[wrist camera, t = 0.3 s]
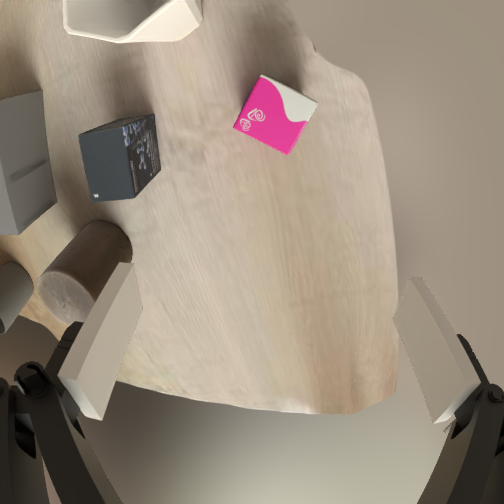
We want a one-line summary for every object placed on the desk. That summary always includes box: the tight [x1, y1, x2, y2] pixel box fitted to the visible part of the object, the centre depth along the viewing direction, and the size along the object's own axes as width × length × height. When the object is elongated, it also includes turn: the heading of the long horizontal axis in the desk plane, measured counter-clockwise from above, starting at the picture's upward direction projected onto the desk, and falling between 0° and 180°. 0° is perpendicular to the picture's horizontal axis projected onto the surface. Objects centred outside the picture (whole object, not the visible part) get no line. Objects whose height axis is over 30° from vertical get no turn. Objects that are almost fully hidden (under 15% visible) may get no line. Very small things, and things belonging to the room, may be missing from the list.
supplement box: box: [233, 74, 318, 155], centre depth 30 cm, size 6×6×12 cm
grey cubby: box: [0, 90, 57, 235], centre depth 32 cm, size 18×11×11 cm, turn 178°
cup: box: [62, 0, 203, 43], centre depth 21 cm, size 11×10×17 cm
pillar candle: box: [37, 220, 133, 326], centre depth 39 cm, size 10×10×15 cm
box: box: [78, 114, 161, 203], centre depth 33 cm, size 8×6×11 cm
